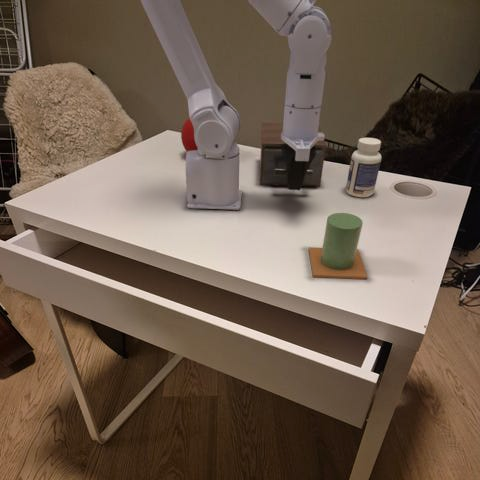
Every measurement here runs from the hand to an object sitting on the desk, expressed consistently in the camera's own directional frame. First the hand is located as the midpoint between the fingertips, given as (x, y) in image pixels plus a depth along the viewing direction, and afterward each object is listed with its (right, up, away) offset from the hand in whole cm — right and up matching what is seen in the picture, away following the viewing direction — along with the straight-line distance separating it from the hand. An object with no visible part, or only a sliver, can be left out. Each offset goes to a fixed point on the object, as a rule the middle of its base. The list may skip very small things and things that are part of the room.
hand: (294, 188), depth 74 cm
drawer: (0, +6, +11) cm, 13 cm away
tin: (+5, -15, -13) cm, 20 cm away
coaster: (+5, -15, -13) cm, 20 cm away
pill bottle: (+14, +1, +8) cm, 16 cm away
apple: (-18, +14, +22) cm, 32 cm away
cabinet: (+1, +8, +15) cm, 17 cm away
